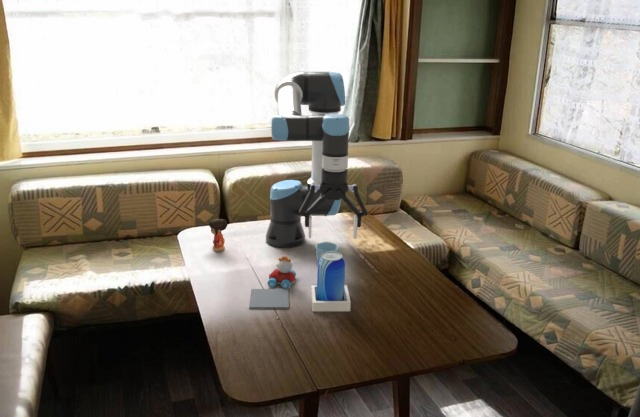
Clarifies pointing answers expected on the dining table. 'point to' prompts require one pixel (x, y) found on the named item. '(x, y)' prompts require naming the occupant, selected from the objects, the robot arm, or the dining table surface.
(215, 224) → the figurine
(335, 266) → the beer can
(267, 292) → the mat
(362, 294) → the dining table surface
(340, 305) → the pocket
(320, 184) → the robot arm
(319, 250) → the cup
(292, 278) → the toy car
